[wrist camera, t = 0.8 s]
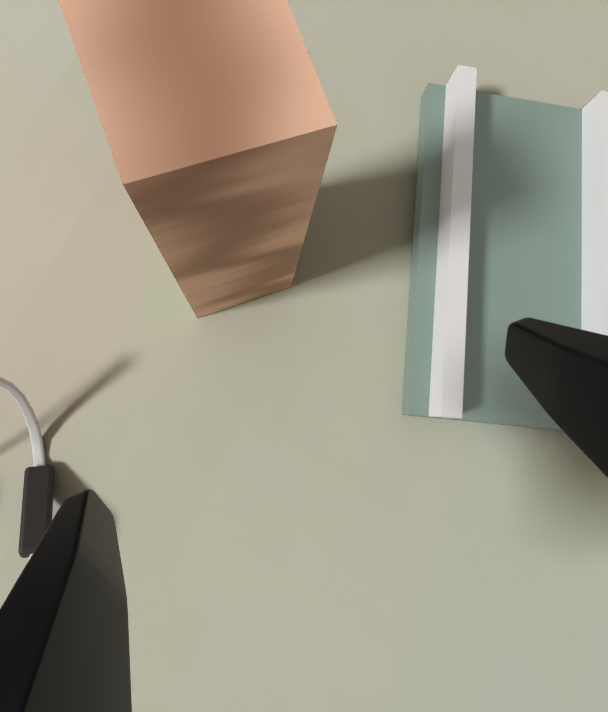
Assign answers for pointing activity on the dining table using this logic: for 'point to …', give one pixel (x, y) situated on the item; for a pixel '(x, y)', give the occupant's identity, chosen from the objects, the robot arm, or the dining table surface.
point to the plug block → (210, 134)
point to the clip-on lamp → (33, 482)
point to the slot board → (501, 244)
